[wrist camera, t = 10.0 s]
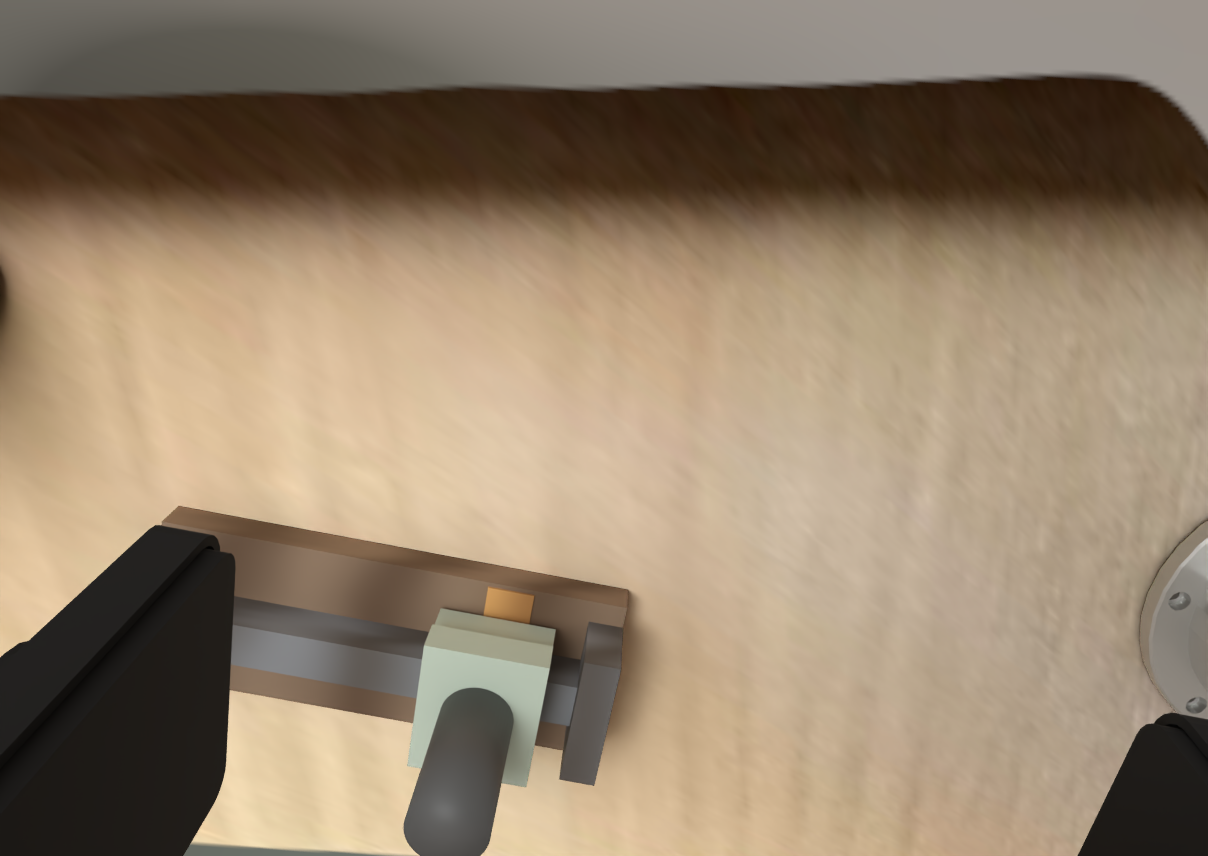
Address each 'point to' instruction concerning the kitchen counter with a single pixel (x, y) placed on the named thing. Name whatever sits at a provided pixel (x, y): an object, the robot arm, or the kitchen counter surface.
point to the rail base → (405, 626)
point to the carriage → (473, 727)
